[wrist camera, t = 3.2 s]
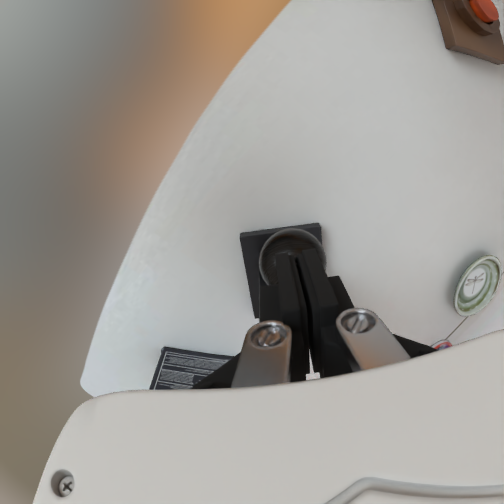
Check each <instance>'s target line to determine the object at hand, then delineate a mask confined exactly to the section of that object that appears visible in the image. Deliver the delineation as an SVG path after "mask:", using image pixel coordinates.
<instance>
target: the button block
mask: <svg viewBox="0 0 504 504" xmlns="http://www.w3.org/2000/svg"><path fill="white" fill-rule="evenodd" d="M432 2H433V4H434V7H435V10H436V14H437V17H438V20H439V23H440V27H441V30H442V34H443V38H444V42H445V46H446V48H447V49H450V50H454V51H458V52H461V53H465V54H468V55H472V56H475V57H478V58H481V59H484V60H487V61H490V62H492V63H495V64H498V65H499V64H504V44H503V40H502V37H501V33H500V30H499V27H500V22H499V19H498V20H496V21H492V22H488V23H486V22H483V21H482V20H481V19H480V18H478V17H477V16H476V14H475V13H474V11H473V10H472V8H471V6H470V3H469V0H432Z"/></svg>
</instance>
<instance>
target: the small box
mask: <svg viewBox="0 0 504 504" xmlns="http://www.w3.org/2000/svg"><path fill="white" fill-rule="evenodd" d="M232 358H233V357H230V356H222V355H214V354H206V353H199V352H192V351H186V350H180V349H174V348H168V347H163V348H162V350H161V356H160V359H159V361H158V364H157V367H156V370H155V373H154V376H153V380H152V383H151V386H150V389H149V390H177V389H191V388H192V387H193V386H194V385H195V384H196V383H198V382H199V381H201V380H202V379H204V378H205V377H207V376H208V375H209V374H211V373H212V372H214V371H215V370H217V369H218V368H219V367H221V366H222V365H224V364H225V363H226V362H228V361H229V360H231V359H232Z"/></svg>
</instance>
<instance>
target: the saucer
mask: <svg viewBox="0 0 504 504" xmlns="http://www.w3.org/2000/svg"><path fill="white" fill-rule="evenodd" d="M501 275H502V268H501V263H500V261H499V260H498V258H497V257H495V256H493V255H486V256H483V257H481V258H479V259H478V260H476V261H475V262H473V263H472V264H471V265H470V266H469V267H468V268H467V269H466V270H465V272H464V273H463V275H462V276H461V278H460V280H459V282H458V285H457V288H456V292H455V296H454V307H455V310H456V312H457V313H458V314H459V315H461V316H465V317H466V316H472V315H474V314H476V313H478V312H479V311H481V310H482V309H483V308H484V307H485V306H486V305H487V304H488V303H489V302H490V301H491V299H492V298H493V296H494V295H495V293H496V291H497V289H498V287H499V284H500V280H501Z"/></svg>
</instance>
